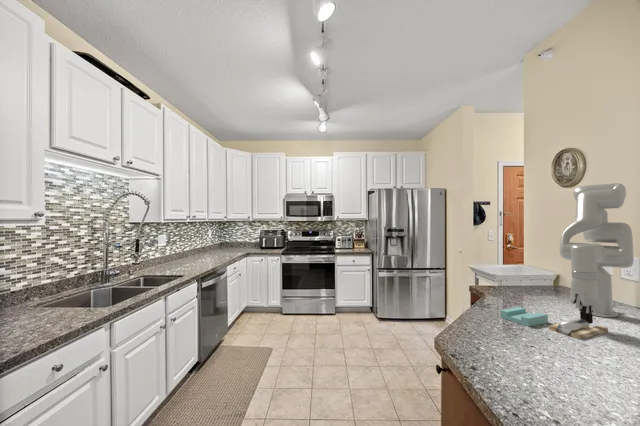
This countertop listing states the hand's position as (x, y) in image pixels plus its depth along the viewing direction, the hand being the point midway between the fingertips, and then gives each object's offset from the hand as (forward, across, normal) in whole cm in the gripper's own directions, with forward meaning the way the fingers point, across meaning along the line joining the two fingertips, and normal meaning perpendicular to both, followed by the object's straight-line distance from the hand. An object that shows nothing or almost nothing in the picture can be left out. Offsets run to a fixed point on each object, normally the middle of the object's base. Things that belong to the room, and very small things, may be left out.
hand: (586, 322), depth 112 cm
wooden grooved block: (+3, +6, 0) cm, 6 cm away
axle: (+2, +9, 0) cm, 9 cm away
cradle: (+3, +12, -16) cm, 21 cm away
